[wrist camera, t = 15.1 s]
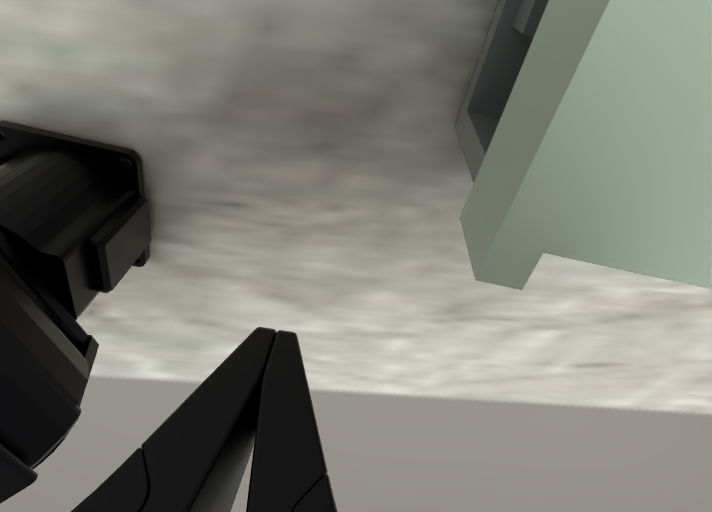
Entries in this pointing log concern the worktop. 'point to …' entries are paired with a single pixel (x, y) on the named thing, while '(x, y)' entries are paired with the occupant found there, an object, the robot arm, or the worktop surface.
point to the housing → (496, 75)
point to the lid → (603, 146)
